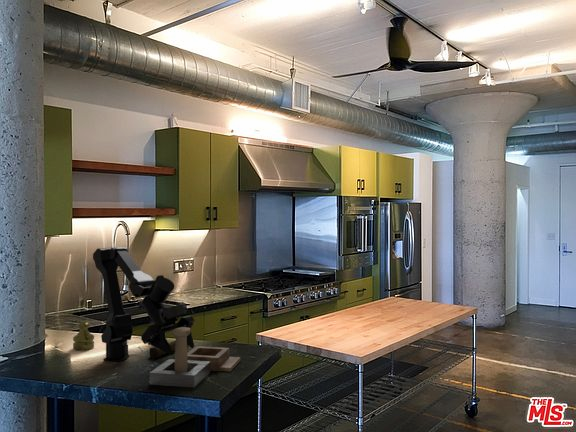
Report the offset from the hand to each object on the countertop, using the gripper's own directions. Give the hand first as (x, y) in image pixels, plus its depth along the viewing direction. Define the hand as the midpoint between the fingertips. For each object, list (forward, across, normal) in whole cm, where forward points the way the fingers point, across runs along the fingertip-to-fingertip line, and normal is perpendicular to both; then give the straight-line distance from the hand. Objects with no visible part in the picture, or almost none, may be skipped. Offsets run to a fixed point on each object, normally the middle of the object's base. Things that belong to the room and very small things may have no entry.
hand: (183, 350), depth 153 cm
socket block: (+5, 0, +7) cm, 9 cm away
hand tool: (-11, +20, +24) cm, 33 cm away
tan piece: (+4, +15, +8) cm, 18 cm away
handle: (+6, 0, +7) cm, 9 cm away
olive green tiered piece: (-33, +7, +45) cm, 57 cm away
